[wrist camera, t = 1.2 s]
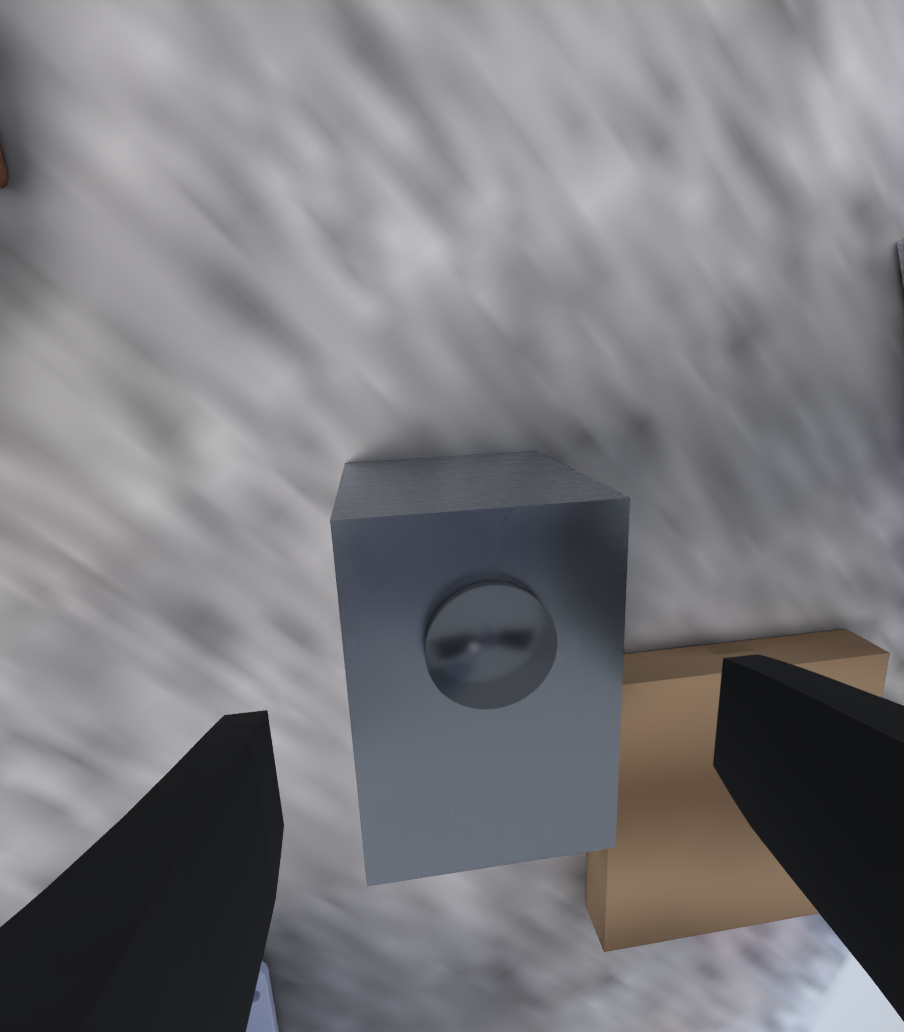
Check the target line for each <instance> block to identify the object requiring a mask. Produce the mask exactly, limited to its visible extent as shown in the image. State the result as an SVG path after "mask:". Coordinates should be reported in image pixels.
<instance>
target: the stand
mask: <svg viewBox="0 0 904 1032" xmlns="http://www.w3.org/2000/svg"><path fill="white" fill-rule="evenodd" d="M755 654H759V655H763V656H767V657H770V658H774V659H777V660H780V661H784V662H787V663H790V664H793V665H796V666H798V667H801V668H804V669H807V670H810V671H812V672H815V673H818V674H821V675H823V676H826V677H829V678H831V679H834V680H837V681H839V682H842V683H845V684H847V685H850V686H853V687H855V688H858V689H861V690H863V691H866V692H869V693H871V694H874V695H876V696H879V697H882V694H883V688H884V682H885V676H886V671H887V665H888V659H889V654H890V653H889V652H887V651H885V650H883V649H881V648H880V647H878V646H876V645H874V644H872V643H870V642H869V641H867V640H865V639H863V638H861V637H859V636H858V635H856V634H854V633H852V632H850V631H849V630H847V629H842V630H833V631H824V632H815V633H806V634H797V635H789V636H780V637H771V638H762V639H753V640H744V641H735V642H726V643H717V644H709V645H700V646H691V647H682V648H673V649H664V650H655V651H646V652H637V653H629V654H623V677H622V702H621V727H620V751H619V776H618V800H617V825H616V848H610V849H603V850H597V851H590V852H587V884H586V908H587V910H588V913H589V915H590V918H591V920H592V923H593V925H594V928H595V930H596V933H597V935H598V938H599V940H600V943H601V945H602V948H603V950H604V952H607V951H613V950H618V949H624V948H629V947H635V946H640V945H646V944H651V943H657V942H662V941H668V940H673V939H679V938H684V937H690V936H696V935H701V934H707V933H712V932H718V931H723V930H729V929H734V928H740V927H745V926H751V925H756V924H762V923H767V922H773V921H778V920H784V919H789V918H795V917H801V916H806V915H812V914H817V913H819V912H818V911H817V910H816V909H815V907H814V906H813V905H812V904H811V902H810V901H809V900H808V899H807V897H806V896H805V895H804V894H803V892H802V891H801V890H800V889H799V887H798V886H797V885H796V884H795V882H794V881H793V880H792V879H791V877H790V876H789V875H788V874H787V872H786V871H785V870H784V869H783V867H782V866H781V865H780V864H779V862H778V861H777V860H776V858H775V857H774V856H773V855H772V853H771V852H770V851H769V850H768V848H767V847H766V846H765V844H764V843H763V842H762V841H761V839H760V838H759V837H758V835H757V834H756V833H755V832H754V830H753V829H752V828H751V826H750V825H749V823H748V822H747V820H746V819H745V817H744V816H743V814H742V812H741V811H740V809H739V808H738V806H737V805H736V803H735V802H734V800H733V798H732V797H731V795H730V793H729V792H728V790H727V788H726V787H725V785H724V783H723V782H722V780H721V778H720V777H719V775H718V773H717V771H716V770H715V768H714V766H713V759H714V748H715V738H716V727H717V716H718V706H719V695H720V685H721V674H722V663H723V658H728V657H737V656H746V655H755Z"/></svg>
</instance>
